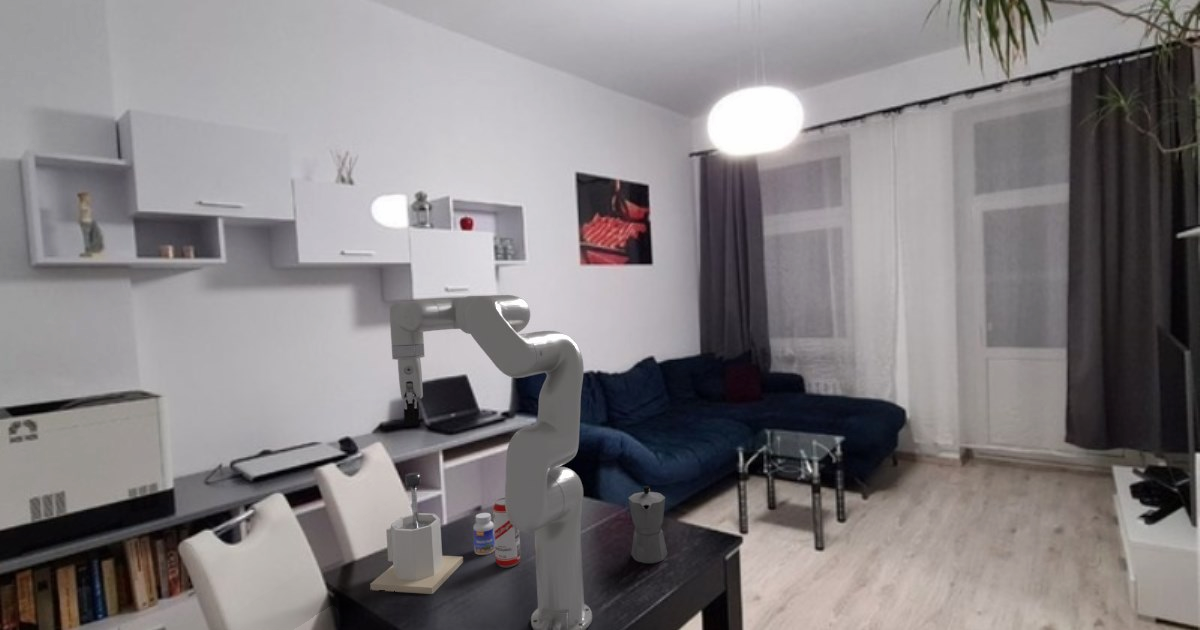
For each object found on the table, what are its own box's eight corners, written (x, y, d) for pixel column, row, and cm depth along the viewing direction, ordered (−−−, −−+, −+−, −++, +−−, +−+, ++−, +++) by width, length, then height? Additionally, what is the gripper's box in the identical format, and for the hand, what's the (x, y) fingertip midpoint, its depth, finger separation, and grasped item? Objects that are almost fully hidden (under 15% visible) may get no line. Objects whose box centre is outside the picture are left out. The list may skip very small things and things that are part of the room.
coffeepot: (668, 567, 141) (665, 494, 141) (629, 567, 142) (626, 495, 142) (667, 541, 157) (664, 474, 156) (632, 541, 157) (629, 475, 157)
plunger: (423, 539, 138) (419, 480, 138) (391, 538, 140) (387, 479, 139) (440, 525, 146) (436, 469, 146) (409, 524, 148) (406, 469, 148)
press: (432, 594, 134) (429, 536, 133) (370, 589, 137) (367, 533, 137) (463, 562, 149) (460, 510, 149) (406, 559, 153) (403, 508, 152)
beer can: (515, 569, 144) (512, 505, 144) (492, 568, 145) (488, 505, 145) (524, 558, 150) (520, 496, 150) (501, 557, 152) (498, 496, 151)
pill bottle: (475, 557, 152) (473, 520, 152) (474, 548, 158) (472, 513, 157) (496, 553, 154) (494, 517, 154) (494, 545, 159) (492, 510, 159)
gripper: (424, 353, 135) (428, 426, 135) (424, 348, 151) (427, 413, 152) (390, 356, 133) (394, 430, 133) (393, 350, 149) (397, 416, 150)
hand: (412, 421), depth 143 cm, fingers open, 9 cm apart
